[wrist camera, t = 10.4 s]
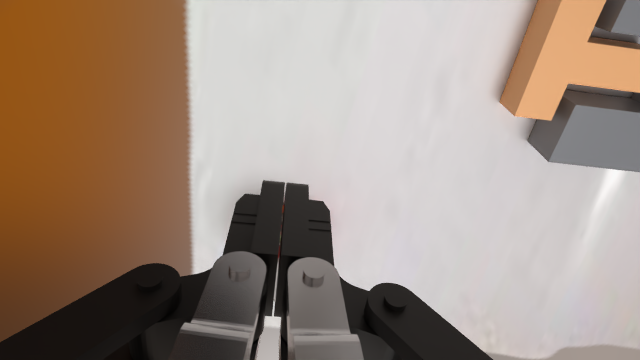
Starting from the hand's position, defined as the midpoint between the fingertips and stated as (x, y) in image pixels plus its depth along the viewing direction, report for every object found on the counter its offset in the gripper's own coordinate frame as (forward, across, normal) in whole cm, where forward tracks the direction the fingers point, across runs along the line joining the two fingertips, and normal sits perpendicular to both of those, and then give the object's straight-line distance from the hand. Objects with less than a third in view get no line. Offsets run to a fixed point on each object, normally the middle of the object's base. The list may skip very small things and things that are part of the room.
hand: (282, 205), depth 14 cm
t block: (+32, -29, 0) cm, 43 cm away
